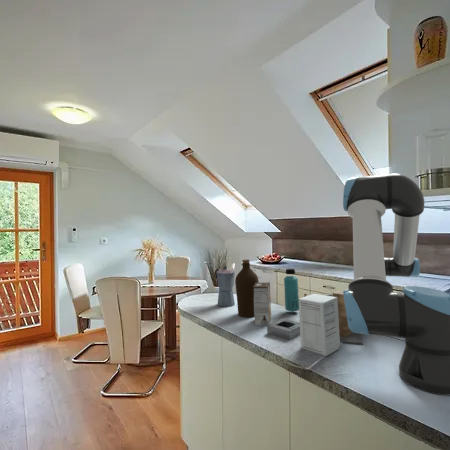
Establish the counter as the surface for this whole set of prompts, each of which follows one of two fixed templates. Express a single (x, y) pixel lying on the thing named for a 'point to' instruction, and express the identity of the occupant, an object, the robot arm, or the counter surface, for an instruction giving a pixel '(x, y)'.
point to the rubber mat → (352, 339)
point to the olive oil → (245, 290)
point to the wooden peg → (342, 315)
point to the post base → (284, 328)
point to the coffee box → (262, 303)
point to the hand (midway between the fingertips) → (337, 307)
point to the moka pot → (225, 286)
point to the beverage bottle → (291, 291)
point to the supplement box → (319, 324)
